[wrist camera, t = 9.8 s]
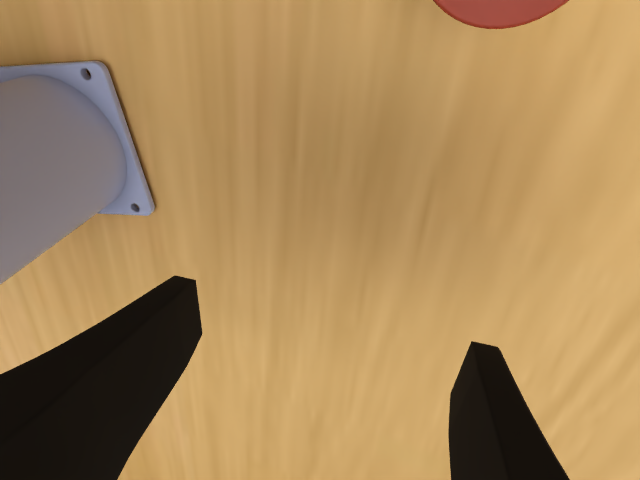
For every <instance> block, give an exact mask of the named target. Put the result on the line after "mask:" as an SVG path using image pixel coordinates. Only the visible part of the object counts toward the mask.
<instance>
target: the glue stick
mask: <svg viewBox="0 0 640 480" xmlns="http://www.w3.org/2000/svg"><path fill="white" fill-rule="evenodd" d="M433 1H434V2H435V3H436V4H437V5H438V6H439V7H440V8H441V9H442V10H443V11H444V12H445V13H447V14H448V15H450V16H451V17H453V18H454V19H456V20H458V21H460V22H462V23H465V24H468V25H471V26H474V27H479V28H486V29H503V28H511V27H516V26H520V25H524V24H527V23H530V22H532V21H535V20H537V19H540V18H542V17H544V16H546V15H547V14H549V13H551V12H553V11H555V10H556V9H558V8H559V7H560V6H562V5H563V4H565V3H566V2H568V1H569V0H433Z"/></svg>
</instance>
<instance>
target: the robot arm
mask: <svg viewBox="0 0 640 480" xmlns="http://www.w3.org/2000/svg"><path fill="white" fill-rule="evenodd" d="M86 69H87V70H89V72H90V74H91V77H90V76H89V75H88V74H87V70H86ZM135 204H136V205H138V207H139V208H138V207H137V206H136V205H135ZM154 209H155V206H154V203H153V200H152V197H151V194H150V191H149V188H148V185H147V182H146V179H145V176H144V173H143V170H142V167H141V164H140V161H139V158H138V156H137V153H136V150H135V147H134V144H133V141H132V138H131V135H130V132H129V129H128V126H127V123H126V120H125V117H124V114H123V111H122V108H121V106H120V103H119V100H118V97H117V94H116V91H115V88H114V85H113V82H112V79H111V76H110V73H109V71H108V69H107V67H106V66H105V65H104V64H103V63H102V62H100V61H96V60H95V61H79V62H64V63H48V64H32V65H17V66H1V67H0V284H2V283H3V282H4V281H6V280H7V279H9V278H10V277H11V276H13V275H14V274H15V273H17V272H18V271H19V270H21V269H22V268H23V267H25V266H26V265H28V264H29V263H30V262H32V261H33V260H34V259H36V258H37V257H38V256H40V255H41V254H42V253H44V252H45V251H47V250H48V249H49V248H51V247H52V246H53V245H55V244H56V243H57V242H59V241H60V240H61V239H63V238H64V237H65V236H67V235H68V234H70V233H71V232H72V231H74V230H75V229H76V228H78V227H79V226H80V225H82V224H83V223H84V222H86V221H87V220H89V219H90V218H91V217H93V216H94V215H95V214H97V213H99V214H122V215H145V216H147V215H150V214H151V213H152V212H153V211H154ZM201 335H202V327H201V319H200V311H199V303H198V295H197V287H196V280H193V279H188V278H184V277H179V276H173V277H172V278H170V279H168V280H167V281H165V282H163V283H162V284H160V285H159V286H157V287H156V288H154V289H152V290H151V291H149V292H148V293H146V294H145V295H143V296H142V297H140V298H138V299H137V300H135V301H134V302H132V303H131V304H129V305H127V306H126V307H124V308H122V309H121V310H119V311H118V312H116V313H114V314H113V315H111V316H110V317H108V318H106V319H105V320H103V321H101V322H100V323H98V324H96V325H95V326H93V327H91V328H89V329H87V330H86V331H84V332H82V333H80V334H79V335H77V336H75V337H73V338H72V339H70V340H68V341H66V342H65V343H63V344H61V345H59V346H57V347H55V348H54V349H52V350H50V351H48V352H46V353H44V354H42V355H40V356H38V357H36V358H34V359H32V360H30V361H28V362H26V363H24V364H22V365H19V366H17V367H15V368H13V369H11V370H9V371H7V372H5V373H2V374H0V480H117V479H118V477H119V475H120V473H121V471H122V469H123V467H124V466H125V464H126V462H127V460H128V458H129V456H130V455H131V453H132V451H133V450H134V448H135V446H136V445H137V443H138V441H139V440H140V438H141V437H142V435H143V433H144V432H145V430H146V429H147V427H148V426H149V424H150V423H151V421H152V420H153V418H154V417H155V415H156V413H157V412H158V410H159V409H160V407H161V406H162V404H163V403H164V401H165V400H166V398H167V397H168V395H169V394H170V392H171V390H172V389H173V387H174V386H175V384H176V383H177V381H178V379H179V378H180V376H181V375H182V373H183V372H184V370H185V368H186V367H187V365H188V363H189V361H190V359H191V357H192V355H193V353H194V351H195V348H196V346H197V344H198V342H199V340H200V338H201ZM449 452H450V468H451V480H570V479H569V478H568V476H567V474H566V473H565V471H564V469H563V468H562V466H561V465H560V463H559V461H558V460H557V458H556V456H555V455H554V453H553V451H552V449H551V448H550V446H549V444H548V443H547V441H546V439H545V437H544V435H543V434H542V432H541V430H540V428H539V426H538V424H537V423H536V421H535V419H534V417H533V415H532V414H531V412H530V410H529V408H528V406H527V404H526V402H525V400H524V398H523V396H522V394H521V392H520V390H519V388H518V386H517V384H516V382H515V380H514V378H513V376H512V374H511V372H510V370H509V368H508V366H507V364H506V361H505V359H504V357H503V355H502V353H501V351H500V350H499V348H498V347H495V346H491V345H486V344H482V343H477V342H473V341H471V344H470V346H469V349H468V351H467V354H466V356H465V359H464V361H463V364H462V366H461V369H460V371H459V374H458V376H457V379H456V381H455V384H454V386H453V389H452V391H451V396H450V413H449Z"/></svg>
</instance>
